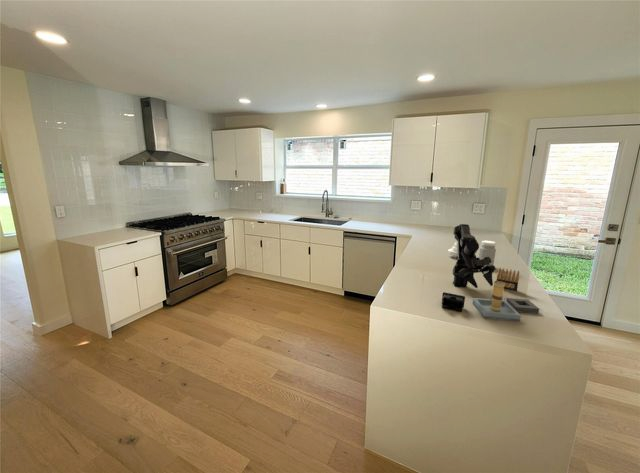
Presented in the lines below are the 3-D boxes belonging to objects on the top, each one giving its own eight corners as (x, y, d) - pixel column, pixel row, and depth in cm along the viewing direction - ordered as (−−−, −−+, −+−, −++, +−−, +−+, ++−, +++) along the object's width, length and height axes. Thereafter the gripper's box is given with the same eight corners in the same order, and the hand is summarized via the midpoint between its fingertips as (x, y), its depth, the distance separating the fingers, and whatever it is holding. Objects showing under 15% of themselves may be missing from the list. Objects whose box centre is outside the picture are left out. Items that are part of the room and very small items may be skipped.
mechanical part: (444, 256, 224) (446, 241, 221) (455, 254, 229) (457, 240, 226) (456, 260, 214) (458, 245, 211) (467, 258, 219) (469, 243, 216)
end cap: (463, 307, 142) (465, 294, 140) (463, 313, 136) (464, 300, 134) (442, 302, 146) (443, 290, 145) (440, 308, 140) (441, 295, 139)
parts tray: (483, 318, 131) (484, 312, 130) (472, 303, 145) (473, 297, 145) (519, 321, 129) (520, 315, 128) (504, 305, 143) (505, 300, 142)
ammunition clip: (494, 287, 166) (498, 267, 163) (495, 286, 167) (498, 266, 165) (517, 291, 160) (520, 271, 157) (516, 290, 162) (520, 270, 159)
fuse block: (515, 311, 137) (516, 306, 137) (505, 302, 147) (506, 297, 146) (538, 313, 136) (539, 308, 135) (527, 304, 145) (528, 299, 145)
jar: (488, 264, 205) (492, 240, 201) (495, 269, 196) (499, 243, 191) (474, 263, 206) (478, 239, 202) (480, 268, 196) (484, 243, 192)
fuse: (490, 310, 136) (494, 283, 133) (489, 307, 139) (494, 280, 136) (500, 312, 134) (505, 285, 131) (499, 309, 138) (504, 281, 134)
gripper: (465, 252, 141) (479, 282, 133) (495, 250, 146) (511, 278, 138) (452, 262, 150) (465, 291, 142) (481, 259, 155) (495, 286, 147)
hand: (484, 286), depth 142 cm, fingers open, 9 cm apart
